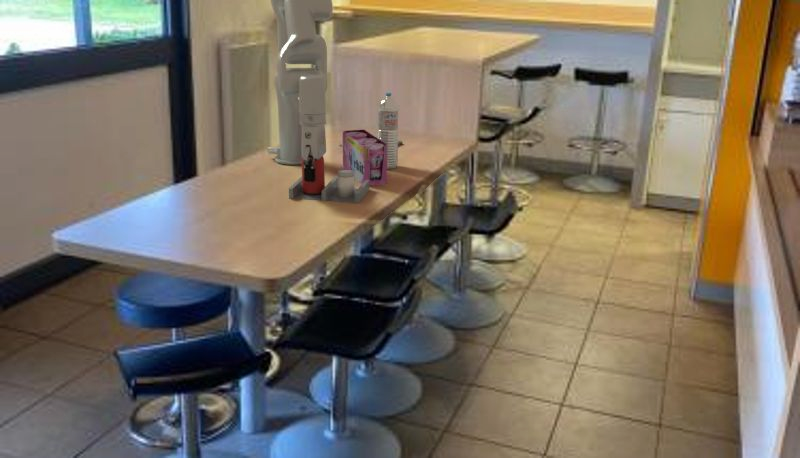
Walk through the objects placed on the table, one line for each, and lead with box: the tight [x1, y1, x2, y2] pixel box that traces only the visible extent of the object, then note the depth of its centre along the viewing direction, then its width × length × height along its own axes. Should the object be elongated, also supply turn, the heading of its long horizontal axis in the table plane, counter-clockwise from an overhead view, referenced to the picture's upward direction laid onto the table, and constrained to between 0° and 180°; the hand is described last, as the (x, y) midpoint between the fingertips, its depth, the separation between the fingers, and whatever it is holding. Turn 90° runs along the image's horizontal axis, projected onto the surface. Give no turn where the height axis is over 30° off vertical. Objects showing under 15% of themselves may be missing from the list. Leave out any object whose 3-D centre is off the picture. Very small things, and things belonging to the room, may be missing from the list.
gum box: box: [342, 129, 388, 186], centre depth 257 cm, size 24×8×14 cm, turn 21°
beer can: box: [301, 155, 326, 194], centre depth 238 cm, size 7×7×12 cm
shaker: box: [336, 169, 356, 198], centre depth 237 cm, size 5×5×7 cm
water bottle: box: [377, 92, 400, 170], centre depth 269 cm, size 7×7×25 cm
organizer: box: [288, 176, 370, 204], centre depth 239 cm, size 21×14×4 cm
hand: (313, 177), depth 239 cm, fingers open, 7 cm apart
